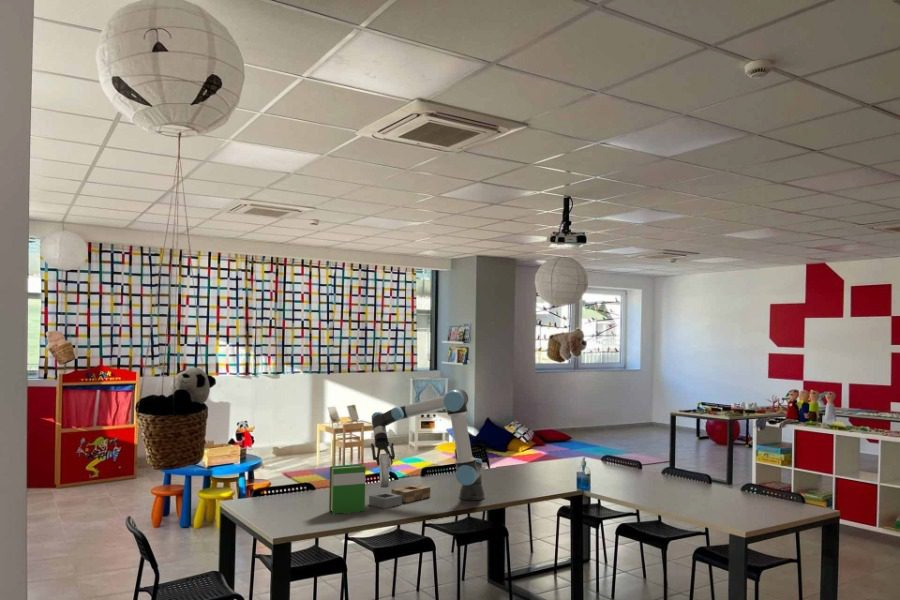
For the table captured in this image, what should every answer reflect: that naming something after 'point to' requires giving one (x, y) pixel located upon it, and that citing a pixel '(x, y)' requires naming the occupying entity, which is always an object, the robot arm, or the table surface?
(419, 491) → the tan hollow box
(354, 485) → the hardback book
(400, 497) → the socket
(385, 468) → the translucent white cylinder
